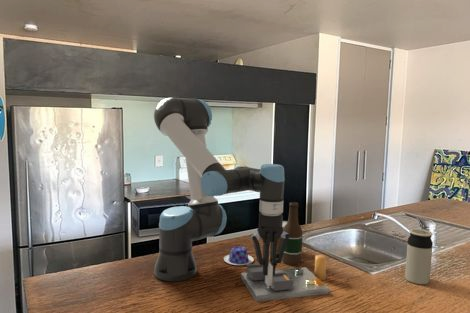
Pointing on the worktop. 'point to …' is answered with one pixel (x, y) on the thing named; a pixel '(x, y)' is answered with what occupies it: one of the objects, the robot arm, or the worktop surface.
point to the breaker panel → (302, 286)
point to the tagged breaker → (281, 282)
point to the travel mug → (419, 256)
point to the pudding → (238, 256)
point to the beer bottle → (293, 237)
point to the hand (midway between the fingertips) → (268, 284)
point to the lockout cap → (320, 267)
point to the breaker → (255, 272)
